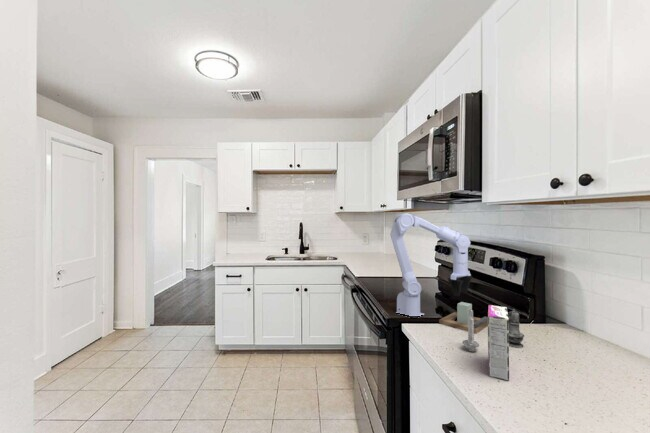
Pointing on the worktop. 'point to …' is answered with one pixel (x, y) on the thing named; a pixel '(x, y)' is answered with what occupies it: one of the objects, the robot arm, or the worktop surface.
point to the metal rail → (480, 322)
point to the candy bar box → (498, 342)
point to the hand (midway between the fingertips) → (460, 294)
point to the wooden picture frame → (451, 322)
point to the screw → (470, 334)
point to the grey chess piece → (514, 330)
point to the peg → (463, 312)
